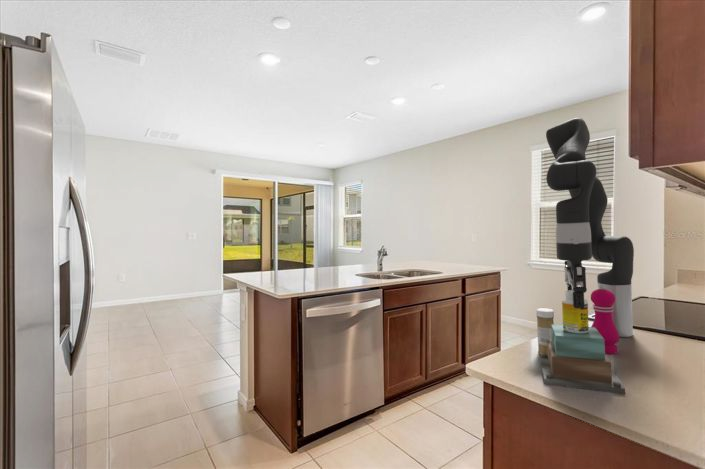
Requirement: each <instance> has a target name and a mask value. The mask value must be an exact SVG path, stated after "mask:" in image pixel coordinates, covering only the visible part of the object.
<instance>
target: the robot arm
mask: <svg viewBox="0 0 705 469" xmlns="http://www.w3.org/2000/svg"><path fill="white" fill-rule="evenodd" d="M545 137H546V142H547V143H548V146H549V149H550V151H551V152H552V155H553V157H554V161H553V162H552V163H551V164H550V166H549V167H548V170H547V172H546V178H545V179H546V184H547V186H548V187H549V189H551V190H553V191H556V192H562V191H568V192H569V195H570V197H571V198H568V199H563V200H560V201H558V202H557V203H556V205H555V213H556V214H555V216H556V220H555V221H556V228H555V240H556V243H555V245H556V258H557V260H559V261H564V281H565V284H566V287H567V288H566V289H567V291H568V290H572V292H573V306H574V308H580V309H583V308H584V299H585V294H586V293H587V290H588V289H587V278H586V276H587V275H586V271H587V269H586V266H583V265H582V264H583V263H582V262H583V261H589V260H590V261H591V260H592V258H593V259H594V260H596V261H597V262H600V263H606V264H607V263H608V264H612V265H611V269H610V270H608V271H605V272H601V273H598V275H597V279H596V280H597V289H599V285H600V284H604V285H605V286H606V290H609V291H611V292H612V293H613V294H614V296H615V303H614V304H613V305H612V306H613V307H614V308H613V310H614V311H613V312H612V320H613V323H614V325H615V327H616V329H617V331H618V334H619V338H630V337H633V335H634V334H633V332H634V330H633V327H634V326H633V323H634V322H633V298H632V296H633V295H632V294H633V293H632V292H633V291H632V288H633V287H632V280H633V275H634V256H635V255H634V254H635V253H634V252H635V251H634V250H635V249H634V244H633V241H632V240H631V239H630V237H628V236H625V235H606V234H605V232H604V229H603V225H602V223H603V222H602V220H603V216H604V214H605V212H606V209H607V206H608V195H607V193H606V190H605V188H604V185H603V183H602V181H601V180H600V179H599V178H598V177H597V167H596V164H594V163H593V162H592V161H591V160H589V159H587V157H586V151H587V148H588V146H589V144H590V140H591V134H590V131H589V128H588V126H587V124H586V121H585V120H584V119H583V118H581V117H574V118H571V119H569V120H566V121H564V122H561V123H559V124H557V125H554V126H552V127H550V128H548V129H547V130H546V131H545Z"/></svg>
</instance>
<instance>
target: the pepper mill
mask: <svg viewBox="0 0 705 469" xmlns="http://www.w3.org/2000/svg"><path fill="white" fill-rule="evenodd" d="M590 300H591V302H592V303H593V305H592V310H593V311H594V320H593V321H592V324H591V326H590V327H595V328H596V329H597V331H598V332H599V333H600V334H601V336H602V337H603V338H604V341H605V354H606V355H615V354H617V353H618V346H617V343H618V342H619V341H620V337H619V334H618V331H617V329H616V327H615V325H614V323H613V320H612V312H613V311H614V310H613V308H614V307H613V306H612V305H613V304H614V303H615V296H614V294H613V293H612V292H611V291H609V290H606V286H605V285H604V284H600V285H599V289H598V288H597V289H595V290H593V291H592V292H591V294H590Z"/></svg>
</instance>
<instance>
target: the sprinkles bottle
mask: <svg viewBox="0 0 705 469" xmlns="http://www.w3.org/2000/svg"><path fill="white" fill-rule="evenodd" d="M535 312H536V313H535V314H536V319H537V320H536V321H537V323H536V324H537V343H538V344H537V346H538V351H537V353H538V354H539V355H542V354H546V355H547V356H548V341H552V328H551V324H552V325H555V324H554V318H555V311H554V310H553V309H552V308H546V307H545V308H544V307H541V308H540V307H539V308H536V310H535Z"/></svg>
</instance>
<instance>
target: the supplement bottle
mask: <svg viewBox="0 0 705 469" xmlns="http://www.w3.org/2000/svg"><path fill="white" fill-rule="evenodd" d="M564 293H565V297H564V298H562V300H561V306H562V309H561V310H562V325H563V329H564V330H565V331H567V332H570V333H576V334H584V333H587V332H588V330H589V327H590V326H589V302H588V299H587V298H586V299H585V298H584V308H583V309H580V308H574V306H573V292H572V290H568V289H567V290H565V292H564Z"/></svg>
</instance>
